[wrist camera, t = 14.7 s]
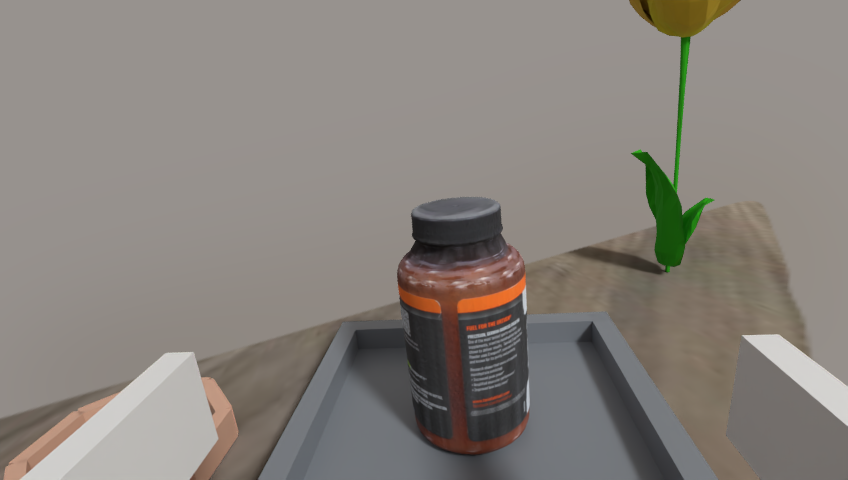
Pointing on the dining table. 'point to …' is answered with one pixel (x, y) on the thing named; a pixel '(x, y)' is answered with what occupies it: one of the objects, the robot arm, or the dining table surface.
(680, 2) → the flower
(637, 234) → the dining table surface
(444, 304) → the supplement bottle
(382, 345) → the tray
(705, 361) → the dining table surface
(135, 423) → the robot arm
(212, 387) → the holder ring
